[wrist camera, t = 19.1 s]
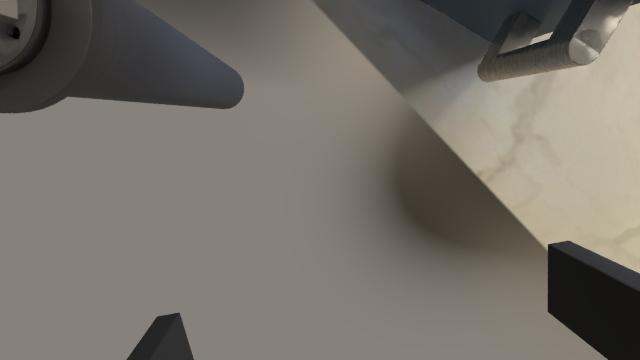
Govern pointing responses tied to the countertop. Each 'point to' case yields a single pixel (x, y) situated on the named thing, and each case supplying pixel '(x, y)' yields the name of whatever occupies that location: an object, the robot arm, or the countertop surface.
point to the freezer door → (536, 32)
